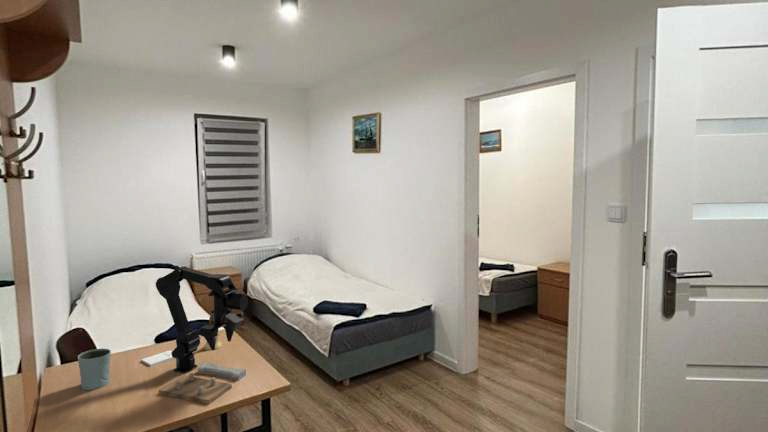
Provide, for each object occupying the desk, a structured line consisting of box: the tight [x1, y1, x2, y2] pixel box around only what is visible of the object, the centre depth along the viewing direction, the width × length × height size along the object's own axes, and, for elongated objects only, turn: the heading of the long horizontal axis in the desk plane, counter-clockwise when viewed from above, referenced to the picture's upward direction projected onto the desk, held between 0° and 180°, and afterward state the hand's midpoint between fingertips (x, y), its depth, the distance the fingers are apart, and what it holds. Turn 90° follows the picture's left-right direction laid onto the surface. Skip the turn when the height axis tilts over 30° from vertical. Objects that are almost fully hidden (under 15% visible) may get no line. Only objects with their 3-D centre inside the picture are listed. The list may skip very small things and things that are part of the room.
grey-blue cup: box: [77, 348, 112, 391], centre depth 156 cm, size 10×10×12 cm
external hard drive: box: [140, 349, 175, 368], centre depth 179 cm, size 2×8×12 cm
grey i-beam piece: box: [196, 361, 247, 381], centre depth 166 cm, size 20×4×2 cm, turn 72°
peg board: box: [158, 372, 233, 405], centre depth 152 cm, size 22×12×4 cm, turn 72°
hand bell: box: [202, 312, 223, 351], centre depth 192 cm, size 8×8×16 cm
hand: (221, 345), depth 165 cm, fingers open, 9 cm apart
